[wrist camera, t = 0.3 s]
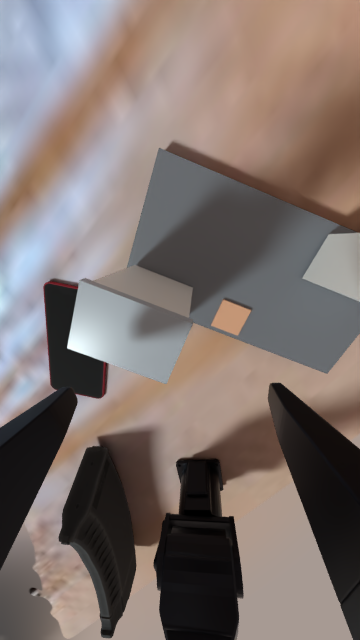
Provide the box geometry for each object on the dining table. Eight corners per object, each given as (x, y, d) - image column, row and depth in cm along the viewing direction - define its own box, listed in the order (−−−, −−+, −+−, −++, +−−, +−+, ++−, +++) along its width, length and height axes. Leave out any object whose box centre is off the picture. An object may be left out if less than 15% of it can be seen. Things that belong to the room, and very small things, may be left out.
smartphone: (50, 389, 28) (42, 280, 22) (54, 384, 29) (47, 278, 23) (103, 400, 28) (108, 294, 22) (106, 395, 29) (111, 291, 23)
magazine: (45, 497, 22) (69, 734, 24) (73, 498, 22) (95, 739, 24) (113, 414, 39) (123, 558, 41) (129, 414, 39) (139, 559, 41)
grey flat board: (321, 367, 24) (328, 375, 22) (123, 291, 22) (118, 295, 21) (406, 257, 19) (422, 259, 18) (161, 153, 18) (158, 146, 16)
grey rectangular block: (179, 325, 22) (166, 384, 13) (122, 303, 21) (67, 348, 12) (195, 286, 20) (192, 323, 11) (133, 262, 20) (79, 280, 11)
